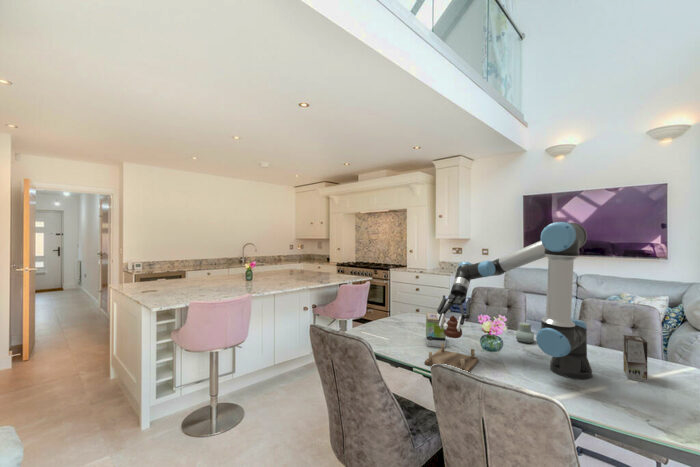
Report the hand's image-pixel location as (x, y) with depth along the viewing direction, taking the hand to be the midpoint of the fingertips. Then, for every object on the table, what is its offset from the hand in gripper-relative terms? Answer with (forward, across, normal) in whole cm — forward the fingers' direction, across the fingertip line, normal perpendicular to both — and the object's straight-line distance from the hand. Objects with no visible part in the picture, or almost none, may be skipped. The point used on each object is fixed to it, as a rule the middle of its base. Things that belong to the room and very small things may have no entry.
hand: (449, 328), depth 146 cm
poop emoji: (0, 0, -6) cm, 6 cm away
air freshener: (-28, -23, -52) cm, 64 cm away
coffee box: (-12, -67, -35) cm, 77 cm away
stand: (+9, 0, -14) cm, 17 cm away
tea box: (-7, +17, -31) cm, 36 cm away
